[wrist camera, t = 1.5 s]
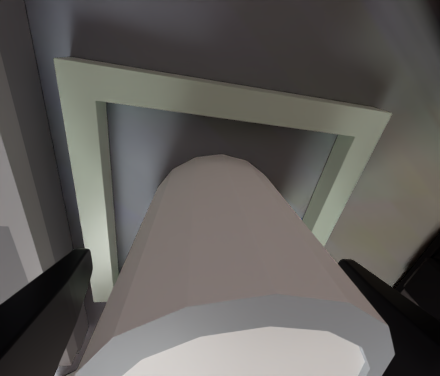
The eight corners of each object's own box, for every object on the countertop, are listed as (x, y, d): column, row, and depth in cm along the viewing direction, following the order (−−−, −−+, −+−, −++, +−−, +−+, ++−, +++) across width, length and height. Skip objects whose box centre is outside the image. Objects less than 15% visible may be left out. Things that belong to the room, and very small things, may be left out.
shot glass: (118, 238, 11) (37, 449, 5) (177, 107, 9) (142, 247, 3) (238, 274, 14) (275, 452, 8) (316, 180, 11) (469, 345, 5)
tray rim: (373, 107, 9) (392, 113, 8) (288, 288, 15) (294, 303, 14) (69, 56, 7) (53, 57, 7) (100, 285, 13) (93, 301, 12)
